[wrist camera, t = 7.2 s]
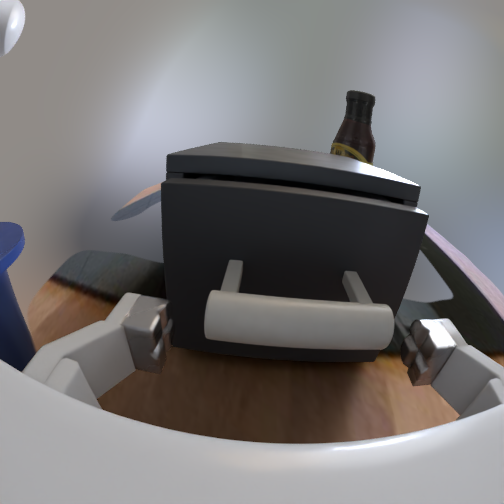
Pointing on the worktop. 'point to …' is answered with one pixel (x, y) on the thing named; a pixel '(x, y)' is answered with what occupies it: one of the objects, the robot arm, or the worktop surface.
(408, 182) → the cabinet
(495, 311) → the worktop surface
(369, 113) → the sauce bottle
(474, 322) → the worktop surface
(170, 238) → the drawer
